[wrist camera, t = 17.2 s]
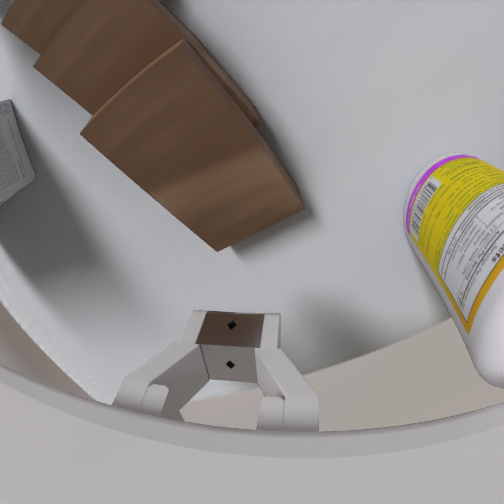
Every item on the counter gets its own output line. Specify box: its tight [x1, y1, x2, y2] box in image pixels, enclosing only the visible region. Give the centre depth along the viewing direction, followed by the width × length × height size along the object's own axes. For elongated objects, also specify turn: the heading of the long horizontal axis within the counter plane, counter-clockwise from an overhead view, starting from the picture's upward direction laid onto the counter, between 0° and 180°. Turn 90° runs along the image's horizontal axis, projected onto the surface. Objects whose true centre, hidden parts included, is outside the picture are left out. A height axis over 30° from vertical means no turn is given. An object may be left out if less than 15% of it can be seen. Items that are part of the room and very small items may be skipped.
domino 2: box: [33, 0, 261, 126], centre depth 10 cm, size 2×5×9 cm
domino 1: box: [1, 0, 203, 54], centre depth 9 cm, size 2×5×9 cm
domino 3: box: [80, 39, 305, 252], centre depth 12 cm, size 2×5×9 cm
